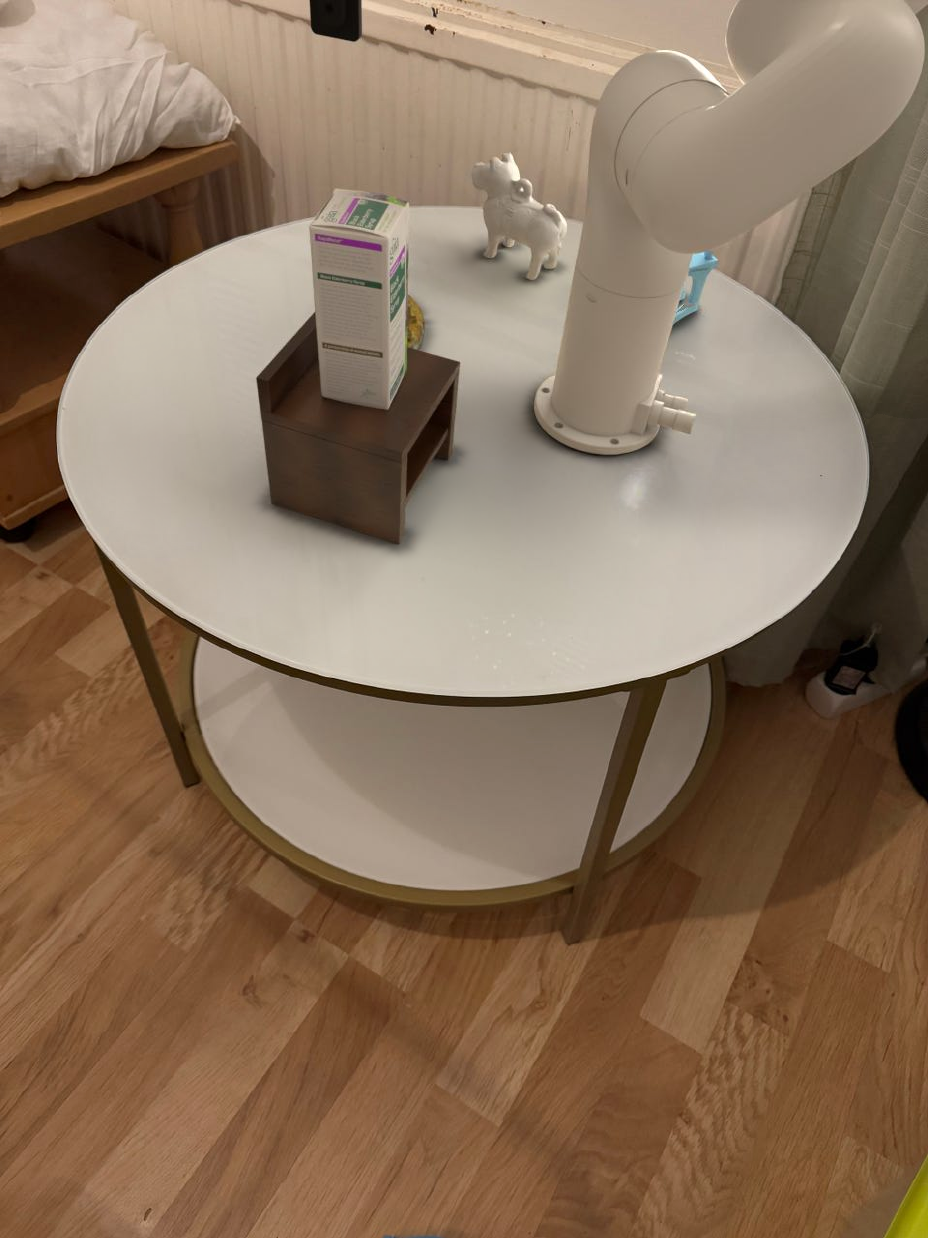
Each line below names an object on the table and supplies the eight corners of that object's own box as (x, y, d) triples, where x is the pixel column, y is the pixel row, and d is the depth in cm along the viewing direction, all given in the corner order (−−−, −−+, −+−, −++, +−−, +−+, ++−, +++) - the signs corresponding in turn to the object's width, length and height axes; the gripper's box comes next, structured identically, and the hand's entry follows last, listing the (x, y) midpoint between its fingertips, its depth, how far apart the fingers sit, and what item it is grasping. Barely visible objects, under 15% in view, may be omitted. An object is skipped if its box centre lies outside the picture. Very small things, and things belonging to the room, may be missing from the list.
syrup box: (389, 412, 72) (392, 236, 60) (317, 398, 72) (307, 220, 61) (407, 371, 75) (413, 198, 64) (338, 357, 76) (333, 183, 64)
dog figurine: (483, 229, 112) (492, 139, 104) (566, 269, 107) (582, 177, 99) (455, 243, 109) (462, 152, 101) (540, 285, 104) (554, 192, 96)
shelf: (452, 453, 84) (463, 330, 74) (399, 544, 76) (403, 420, 66) (335, 418, 86) (330, 293, 76) (270, 503, 78) (255, 377, 68)
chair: (710, 320, 102) (744, 216, 93) (651, 335, 99) (680, 230, 90) (670, 286, 107) (698, 183, 97) (612, 299, 104) (635, 195, 94)
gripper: (368, -354, 40) (371, 68, 54) (479, -370, 51) (458, -15, 64) (215, -375, 41) (254, 45, 55) (355, -386, 52) (360, -33, 65)
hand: (365, 12), depth 59 cm, fingers open, 9 cm apart
